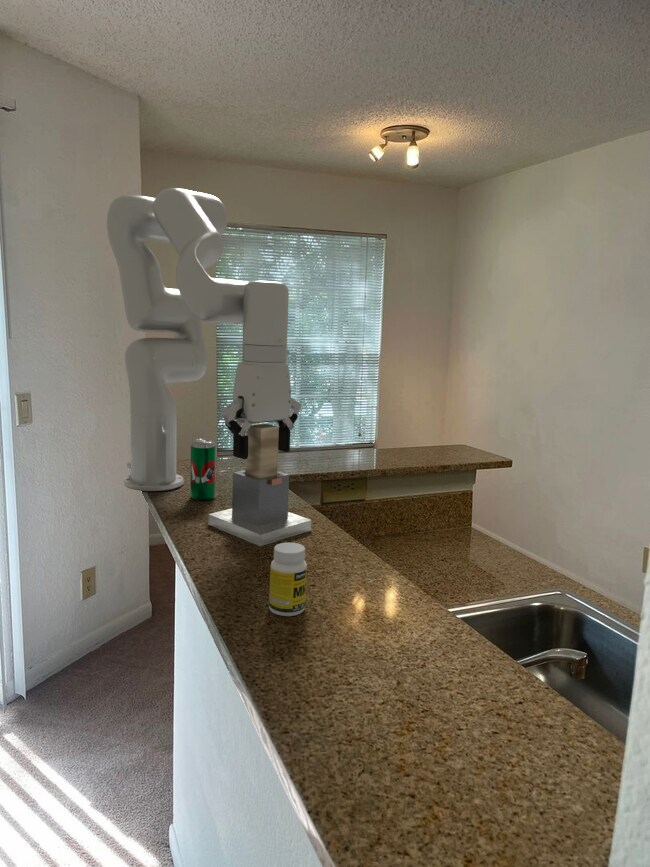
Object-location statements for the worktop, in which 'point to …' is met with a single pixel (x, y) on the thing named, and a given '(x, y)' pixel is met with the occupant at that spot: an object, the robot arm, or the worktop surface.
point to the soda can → (203, 470)
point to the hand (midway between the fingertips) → (262, 454)
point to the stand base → (260, 510)
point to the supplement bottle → (288, 580)
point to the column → (262, 450)
